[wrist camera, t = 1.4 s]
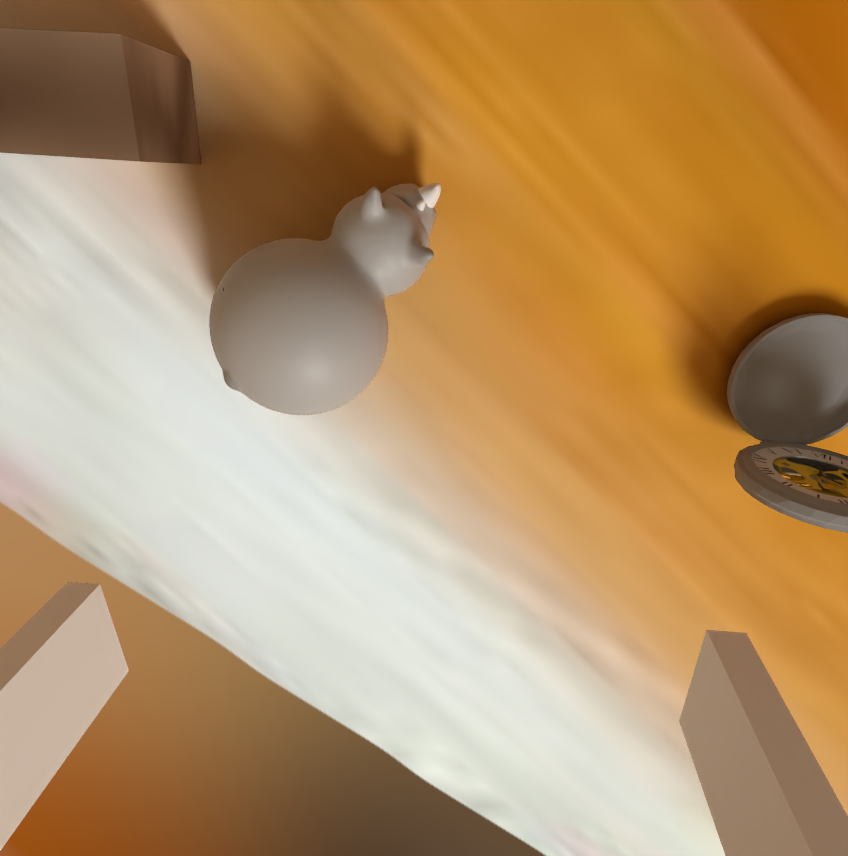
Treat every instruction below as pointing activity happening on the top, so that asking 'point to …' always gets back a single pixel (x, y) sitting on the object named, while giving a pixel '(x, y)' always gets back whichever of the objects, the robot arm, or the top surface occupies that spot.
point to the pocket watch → (794, 417)
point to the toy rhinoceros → (321, 303)
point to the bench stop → (95, 98)
